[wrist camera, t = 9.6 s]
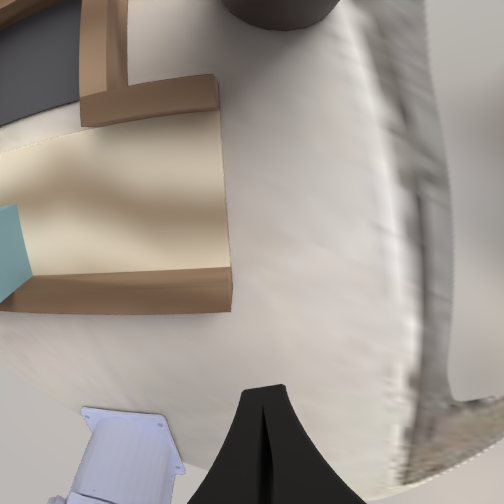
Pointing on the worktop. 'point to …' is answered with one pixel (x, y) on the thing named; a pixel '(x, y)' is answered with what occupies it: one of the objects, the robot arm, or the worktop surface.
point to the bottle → (280, 12)
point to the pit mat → (40, 61)
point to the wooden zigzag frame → (122, 188)
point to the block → (12, 252)
